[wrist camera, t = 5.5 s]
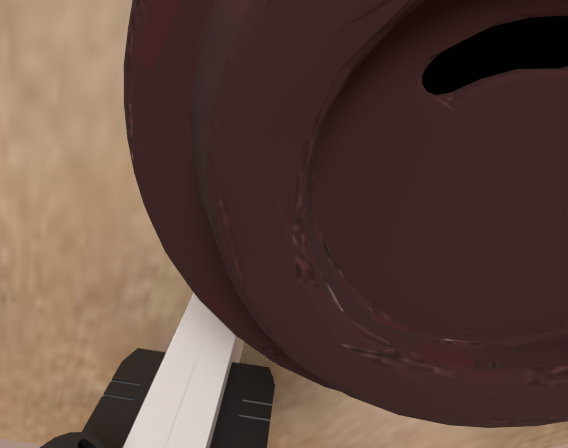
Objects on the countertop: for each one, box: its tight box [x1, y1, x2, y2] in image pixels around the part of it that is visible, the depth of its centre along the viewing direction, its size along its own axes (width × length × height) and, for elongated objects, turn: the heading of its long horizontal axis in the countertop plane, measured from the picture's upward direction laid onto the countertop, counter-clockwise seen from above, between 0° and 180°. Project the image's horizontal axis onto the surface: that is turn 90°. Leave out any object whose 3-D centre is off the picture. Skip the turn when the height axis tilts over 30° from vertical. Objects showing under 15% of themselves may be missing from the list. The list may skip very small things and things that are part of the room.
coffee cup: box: [124, 0, 568, 428], centre depth 11 cm, size 10×10×15 cm
